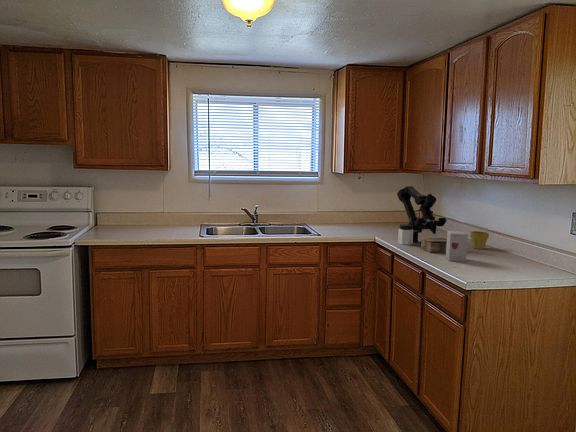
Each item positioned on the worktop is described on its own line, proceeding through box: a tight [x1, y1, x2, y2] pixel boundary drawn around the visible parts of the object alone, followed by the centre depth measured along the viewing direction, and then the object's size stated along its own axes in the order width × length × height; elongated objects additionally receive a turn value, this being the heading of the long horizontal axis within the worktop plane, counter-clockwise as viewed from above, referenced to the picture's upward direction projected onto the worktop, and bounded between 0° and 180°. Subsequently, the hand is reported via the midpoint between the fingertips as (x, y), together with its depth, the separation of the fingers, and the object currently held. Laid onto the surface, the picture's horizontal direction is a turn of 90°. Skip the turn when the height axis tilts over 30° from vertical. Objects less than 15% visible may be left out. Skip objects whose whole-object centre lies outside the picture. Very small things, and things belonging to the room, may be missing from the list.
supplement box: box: [445, 230, 469, 263], centre depth 261 cm, size 9×9×15 cm
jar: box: [397, 223, 414, 246], centre depth 306 cm, size 9×8×12 cm
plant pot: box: [469, 230, 490, 250], centre depth 295 cm, size 10×10×10 cm
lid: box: [420, 237, 447, 242], centre depth 285 cm, size 12×14×1 cm
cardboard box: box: [420, 239, 447, 254], centre depth 285 cm, size 12×14×6 cm
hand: (434, 233), depth 287 cm, fingers closed
